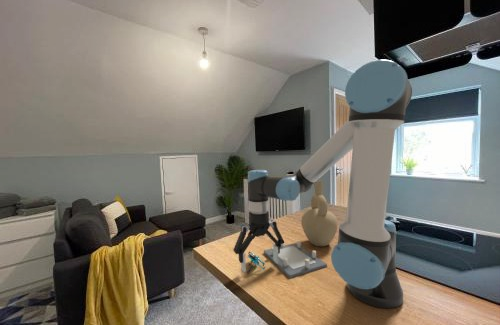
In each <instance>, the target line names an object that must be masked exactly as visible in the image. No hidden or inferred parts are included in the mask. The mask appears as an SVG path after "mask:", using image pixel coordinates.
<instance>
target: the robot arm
mask: <svg viewBox="0 0 500 325" xmlns="http://www.w3.org/2000/svg"><path fill="white" fill-rule="evenodd" d="M345 85H346V86H345V90H344V96H345V100H346V104H348V106H349V112H348V119H347V121H346V122H345V123H344V124H343V125H342V126H340V127H339V129H337V131H336V132H334V134H333V135H332V136H330V138H329V139H328V140H327V141H326V142H324V144H323V145H322V146H321V147H320V148H319V149H318V150H316V152H315V153H314V154H313V155H312V156H310V158H309V159H308V160H307V161H305V163H304V164H302V165H301V166H300V168H299V169H298V170H297V171H296V172H295V173H293V174H289V175H283V176H271V175H270V176H269V174H268V173H269V172H268V170H265V169H254V170H253V169H252V170H249V172H248V173H247V189H248V190H247V191H248V192H247V193H248V211H249V212H248V225H246V226H245V225H243V224H242V225H241V226H240V232H239V234H238V238H237V240H236V242H235V244H234V246H233V252H234V253H235V255H238V261H239V263H240V266H241V268H240V269H241V270H242V272H243V273H247V266H246V265H247V262H246V253H245V251H247V249H248V247H249V246H250V244H251V243H252V241H253V240H254V239H255V238H256V237H257V238H258V237H263V236H265V235H267V237H268V238H269V239H270V240H271V241H272V242H273V243H274V244H272V247H273V260H274V261H275V262H276V263H278V254H279V253H280V247H281V244H283V245H284V243H285V240H284V238H283V236H282V234H281V232H280V230H279V228H278V223H277V222H276V221H275V220H273V219H272V220H271V221H270V212H269V210H270V209H269V208H270V206H269V199H276V200H281V201H285V202H286V201H287V202H288V201H290V202H293V201H295V200H297V198H298V197H299V195H300V194H302V193H306V192H308V191H309V190H311V189H312V188H313V187H314V183H315V182H318V180H319V179H321V177H322V176H324V175H325V174H326V173H327V172H328V171H330V169H331V168H332V167H334V166H335V165H336V164H337V163H338V162H339V161H341V160H342V159H343V158H344V157H346V155H347V154H349V153H350V152H351V162H350V164H351V165H350V173H349V174H350V175H349V182H348V183H349V184H348V196H347V206H346V208H347V209H346V218H345V220H343V221H342V222H340V223H339V226H338V236H337V237H338V238H337V239H338V240H337V244H335V245H334V246H333V249H332V251H331V253H330V254H331V255H330V256H331V257H330V260H331V264H332V267H333V270H334V271H335V272H336V273H337V274H338V275H339V278H341V279H342V280H343V281H344V282H346V286H347V289H348V291H349V292H350V294H352V296H353V297H355V298H356V299H357V300H359V301H361V302H363V303H365V304H367V305H370V306H373V307H376V308H382V309H394V308H398V307H400V306H402V304H403V302H404V290H403V288H402V286H401V282H400V280H399V277H398V274H397V250H396V249H397V240H396V239H397V234H398V233H397V231H396V230H397V229H396V224H395V223H394V222H393V221H390V220H388V219H386V214H387V205H388V196H389V188H390V187H389V186H390V178H391V168H392V162H393V159H392V158H393V150H394V142H395V133H396V130H397V129H398V128H399V127H401V126H402V125H403V124H404V123H405V119H406V118H405V116H406V108H407V107H408V105H409V104H410V101H411V99H412V97H413V95H412V94H413V87H412V85H411V83H410V81H409V79H408V74H407V72H406V69H404V68H403V67H402V66H401V65H399V64H398V63H397V62H394V61H392V60H389V59H378V60H377V59H376V60H372V61H369V62H367V63H365V64H362V65H361V66H360V67H359V68H358V69H356V71H355V72H353V73H352V74H351V76H349V79H348V80H347V83H346V84H345ZM270 227H271V229H272V231H273V233H274V234H275V236H274V235H273V234H272V233H271V232H270V231H269V228H270ZM248 231H249V232H248ZM246 235H247V236H246ZM275 237H276V238H277V239H276V238H275Z"/></svg>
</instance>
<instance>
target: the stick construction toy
mask: <svg viewBox="0 0 500 325" xmlns="http://www.w3.org/2000/svg"><path fill="white" fill-rule="evenodd" d="M247 257H248V258H249V259H250V261H249V262H248V266H250V267H249V268H248V270H246V273H247V274H250V272H251V270H252V269H253V268H254V267H255V266H256V265H257V266H259V267H260V268H261V269H262V270H265V266H266V265H265V263H264V262H263V261H262V260H261V259H260V256H256V254H253V253H252V252H251V251H248V255H247ZM260 263H261V264H262V266H261V265H260Z"/></svg>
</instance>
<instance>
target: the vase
mask: <svg viewBox="0 0 500 325" xmlns="http://www.w3.org/2000/svg"><path fill="white" fill-rule="evenodd" d="M313 187H314V189H313V190H314V194H313V195H312V196H311V198H310V206H311V207H310V208H311V209H309V210H306V211H305V212H304V213H303V215H302V217H301V222H300V223H301V227H302V230H303V232H304V235H305V237H306V238H307V240H308V241H309V242H310V244H312V245H314V246H316V247H326V246H328V245H330V244H331V243H332V242H333V240H334V238H335V235H336V234H337V232H338V231H337V230H338V227H339V226H338V225H339V221H338V218H337V217H336V216H335V214H334V213H333V212H331V211H329V210H328V207H329V206H328V202H327V199H326V198H325V196H324V195H323V187H324V182H322V181H316V182H315V183H314V184H313Z"/></svg>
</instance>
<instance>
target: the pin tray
mask: <svg viewBox="0 0 500 325" xmlns="http://www.w3.org/2000/svg"><path fill="white" fill-rule="evenodd" d="M263 254H264V255H265V256H266V257H267V258H269V259H270V261H271V262H272V263H273V264H274V265H275V266H276V267H278V269H280V270H281V272H283V273H284V274H285V275H286V276H287V277H288V278H289V279H293V278H296V277H299V276H301V275H305V274H307V273H308V274H309V273H311V272H314V271H318V270H320V269H323V268H327V267H328V263H326V262H325V261H323V260H322V259H320V258H318V256H317V251H316V250H314V249H313V250H312V251H311V252H310V251H308V250H307V249H306V248H304V247H303V246H302V241H301V240H298V241H297V242H295V243H290V244H286V245H284V243H283V244H281V247H280V253H279V254H278V263H276V262H275V261H274V260H273V246H272V247H270V248H269V249H264V250H263Z"/></svg>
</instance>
